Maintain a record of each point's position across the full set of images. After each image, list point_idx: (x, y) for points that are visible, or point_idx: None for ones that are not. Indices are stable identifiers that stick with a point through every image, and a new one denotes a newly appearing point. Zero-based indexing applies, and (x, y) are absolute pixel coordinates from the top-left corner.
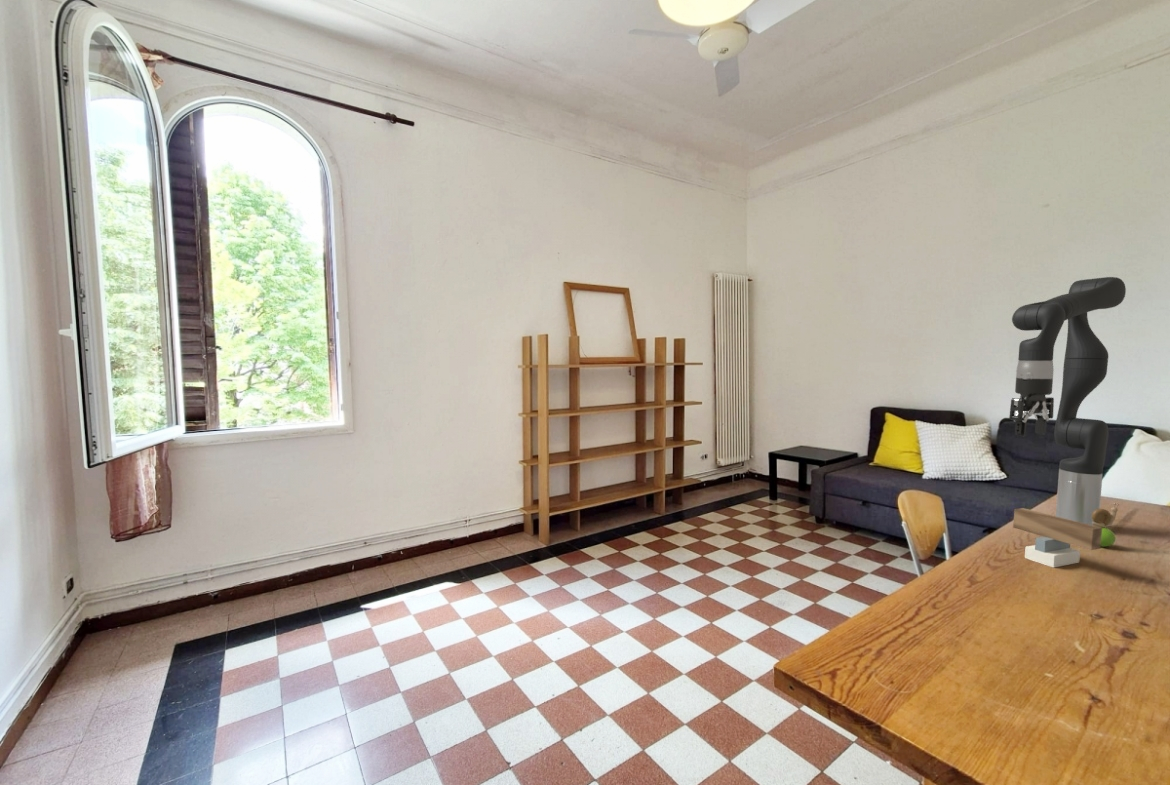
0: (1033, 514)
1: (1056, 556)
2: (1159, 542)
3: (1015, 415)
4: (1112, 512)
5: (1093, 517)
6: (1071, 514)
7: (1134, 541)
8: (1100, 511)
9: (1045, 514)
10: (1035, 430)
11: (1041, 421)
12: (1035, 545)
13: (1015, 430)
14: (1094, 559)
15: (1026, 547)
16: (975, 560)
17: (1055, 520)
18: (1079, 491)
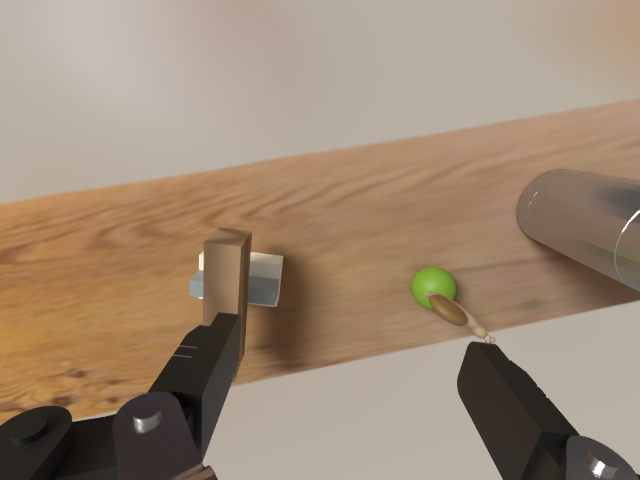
0: (203, 282)
1: None
2: (556, 317)
3: (118, 468)
4: (471, 326)
5: (429, 301)
6: (539, 217)
7: (522, 296)
8: (443, 318)
9: (230, 296)
10: (480, 355)
11: (523, 468)
12: (196, 274)
13: (181, 343)
14: (324, 300)
15: (199, 256)
16: (99, 212)
17: (203, 322)
18: (592, 251)
